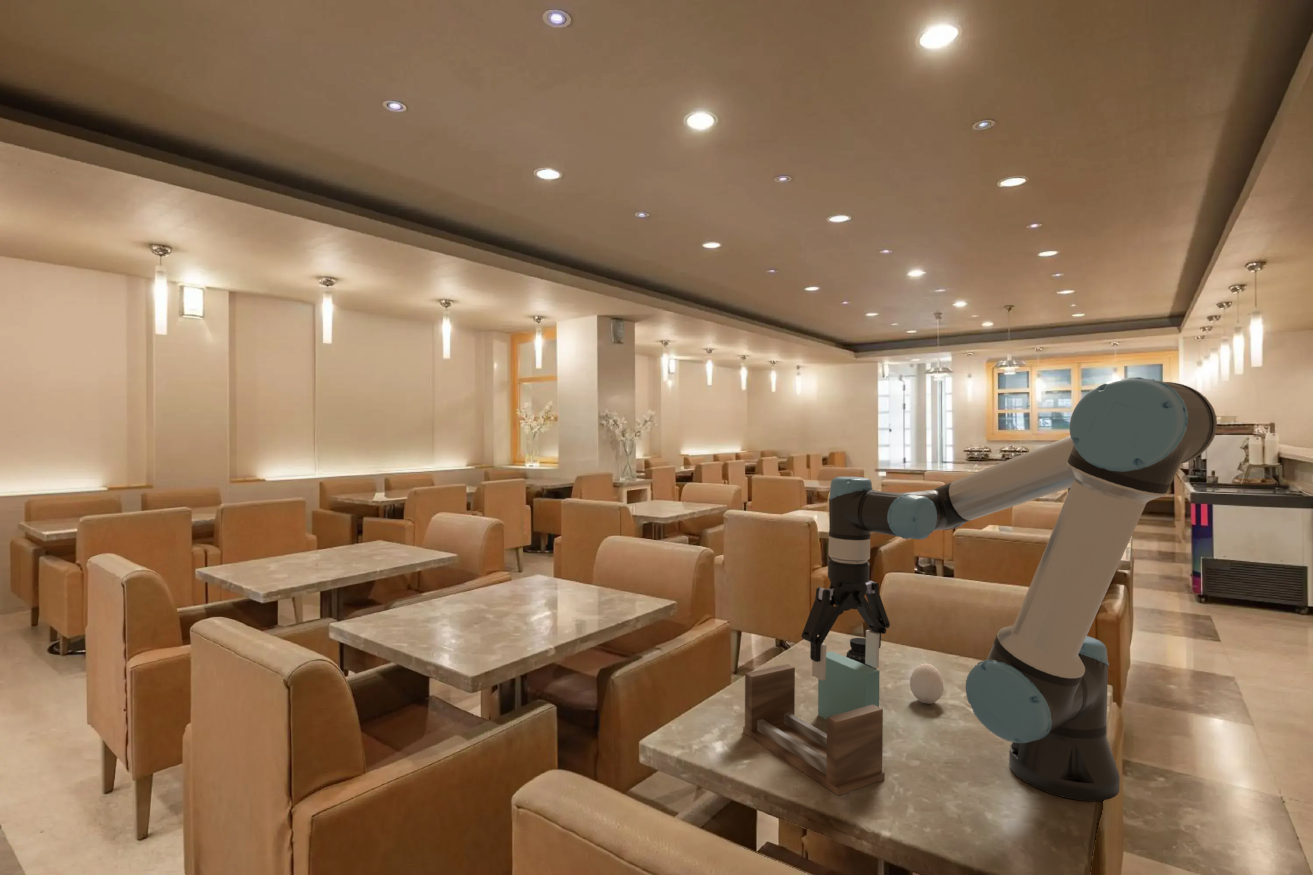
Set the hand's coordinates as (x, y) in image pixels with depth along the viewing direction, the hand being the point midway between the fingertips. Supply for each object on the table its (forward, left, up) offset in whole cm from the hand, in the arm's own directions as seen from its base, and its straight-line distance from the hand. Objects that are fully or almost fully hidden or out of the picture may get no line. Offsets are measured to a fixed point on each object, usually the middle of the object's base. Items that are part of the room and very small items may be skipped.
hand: (846, 671), depth 125 cm
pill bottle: (+10, -14, -10) cm, 20 cm away
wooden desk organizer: (-5, +14, -10) cm, 18 cm away
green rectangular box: (0, 0, -10) cm, 10 cm away
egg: (0, -22, -10) cm, 24 cm away
